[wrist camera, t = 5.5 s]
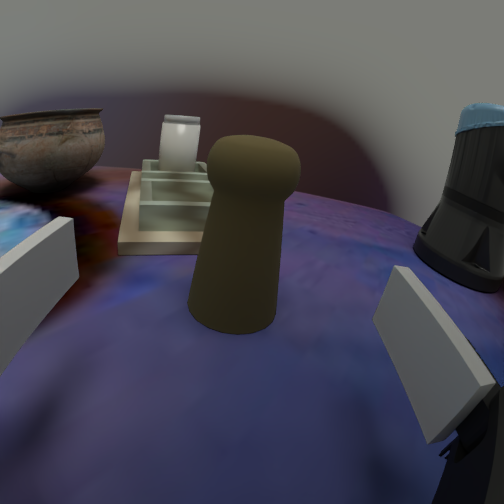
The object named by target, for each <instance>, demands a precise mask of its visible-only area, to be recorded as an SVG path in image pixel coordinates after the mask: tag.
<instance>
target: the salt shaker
mask: <svg viewBox="0 0 504 504" xmlns="http://www.w3.org/2000/svg"><path fill="white" fill-rule="evenodd" d="M199 123H200V117H191V116H178V115H165V119H164V123H163V124H162V133H161V142H160V152H159V163H158V171H175V172H195V164H196V156H197V148H198V139H199V132H200V125H199Z"/></svg>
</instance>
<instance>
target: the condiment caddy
mask: <svg viewBox="0 0 504 504" xmlns="http://www.w3.org/2000/svg"><path fill="white" fill-rule="evenodd" d="M158 163H159V160H143V165H142V172H133V171H132V174H131V178H130V183H129V187H128V192H127V196H126V201H125V206H124V211H123V216H122V221H121V226H120V232H119V238H118V255H182V254H198V252H199V248H200V244H201V240H202V236H203V231H204V227H205V223H206V219H207V215H208V211H209V207H210V203H211V200H212V196H213V192H214V189H213V188H212V186H211V184H210V182H209V180H208V176H207V165H206V164H205V163H204V162H196V164H195V172H175V171H158Z"/></svg>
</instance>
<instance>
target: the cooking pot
mask: <svg viewBox="0 0 504 504" xmlns="http://www.w3.org/2000/svg"><path fill="white" fill-rule="evenodd" d="M102 110H103V108H91V109H90V108H89V109H65V110H52V111H41V112H32V113H23V114H15V115H9V116H3V117H0V119H1V120H2V121H3V123H2V126H1V129H0V173H1V174H2V175H3V176H4V177H5V178H6V179H8V180H9V181H11V182H13V183H15V184H17V185H19V186H21V187H23V188H25V189H27V190H29V191H31V192H33V193H50V192H55V191H59V190H62V189H64V188H66V187H67V186H68V185H69V184H71V183H72V182H74V181H75V180H76V179H78V178H79V177H81V176H82V175H83V174H85V173H86V172H88V171H89V170H90V169H91V168H92V167H93V166H94V165H95V164H96V163H97V161H98V160H99V158H100V157H101V155H102V152H103V150H104V145H105V136H104V131H103V126H102V122H101V119H100V116H99V112H100V111H102Z"/></svg>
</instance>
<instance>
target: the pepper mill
mask: <svg viewBox="0 0 504 504" xmlns="http://www.w3.org/2000/svg"><path fill="white" fill-rule="evenodd" d="M300 173H301V168H300V160H299V158H298V155H297V153H296V152H295V151H294V150H293V149H292V148H291V147H289V146H287V145H285V144H283V143H281V142H278V141H276V140H273V139H269V138H264V137H258V136H252V135H234V136H226V137H224V138H221V139H219V140H218V141H217V142H216V143H215V144H214V146H213V147H212V148H211V151H210V153H209V156H208V159H207V176H208V180H209V182H210V184H211V186H212V188H213V189H214V192H213V196H212V200H211V203H210V207H209V211H208V215H207V219H206V223H205V227H204V231H203V236H202V240H201V244H200V248H199V252H198V257H197V261H196V265H195V270H194V274H193V279H192V283H191V288H190V293H189V297H188V302H187V303H188V307H189V311H190V313H191V314H192V315H193V316H194V318H195V319H196V320H197V321H199V322H200V323H202V324H203V325H205V326H206V327H208V328H211V329H213V330H216V331H219V332H222V333H230V334H248V333H254V332H257V331H259V330H262V329H265V328H266V327H267V326H268V325H269V324H271V323H272V322H273V319H274V317H275V315H276V305H277V294H278V282H279V270H280V257H281V244H282V230H283V216H284V201H285V200H286V199H287V198H288V197H289V196H290V195H291V194H292V193H293V192H294V190H295V188H296V186H297V184H298V182H299V178H300Z"/></svg>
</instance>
